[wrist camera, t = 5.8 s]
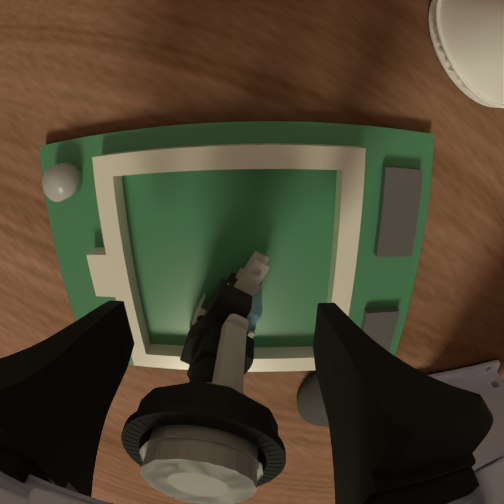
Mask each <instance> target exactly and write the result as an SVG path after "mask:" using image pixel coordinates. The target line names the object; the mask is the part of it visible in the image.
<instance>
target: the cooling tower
mask: <svg viewBox="0 0 504 504" xmlns="http://www.w3.org/2000/svg"><path fill="white" fill-rule="evenodd" d="M428 24H429V32H430V36H431V40H432V43H433V47H434V49H435V52H436V54H437V56H438V58H439V60H440V62H441V64H442V66H443V68H444V69H445V71H446V73H447V74H448V75H449V77H450V78H451V80H452V81H453V82H454V83H455V84H456V86H457V87H458V88H459V89H460V90H461V91H462V92H463V93H465V94H466V95H467V96H468V97H469V98H471V99H472V100H474V101H475V102H477V103H479V104H482V105H484V106H488V107H494V108H504V0H432V2H431V4H430V8H429V14H428Z"/></svg>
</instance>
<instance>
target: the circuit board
mask: <svg viewBox="0 0 504 504" xmlns="http://www.w3.org/2000/svg"><path fill="white" fill-rule="evenodd" d="M433 146H434V134H430V133H423V132H416V131H409V130H402V129H394V128H385V127H376V126H365V125H354V124H340V123H323V122H296V121H241V122H214V123H197V124H183V125H171V126H161V127H151V128H142V129H134V130H126V131H119V132H112V133H106V134H99V135H93V136H87V137H82V138H76V139H71V140H66V141H61V142H56V143H52V144H47V145H42V146H39V151H40V161H41V170H42V178H43V179H42V186H43V190H44V192H45V198H46V205H47V210H48V216H49V221H50V226H51V231H52V236H53V241H54V245H55V249H56V254H57V258H58V262H59V266H60V270H61V274H62V277H63V281H64V284H65V288H66V291H67V295H68V298H69V301H70V305H71V308H72V311H73V314H74V317H75V320H76V321H77V320H79V319H80V318H82V317H83V316H85V315H86V314H88V313H89V312H91V311H93V310H94V309H96V308H97V307H99V306H101V305H102V304H104V303H106V302H108V301H110V300H112V301H124V304H125V308H126V313H127V317H128V321H129V324H130V328H131V332H132V336H133V339H134V347H133V351H132V354H131V358H130V361H129V364H128V365H134V366H144V367H155V368H167V369H181V370H188V369H189V364H187V363H185V362H182V361H180V357H181V354H182V351H183V348H184V345H185V341H186V338H187V335H188V332H189V330H190V328H191V326H192V321H193V317H194V314H195V311H196V308H197V306H198V304H199V302H200V300H201V299H202V297H203V295H204V294H205V295H206V296H205V299H204V302H203V306H202V308H203V309H205V310H207V309H208V307H209V305H210V303H211V300H212V298H213V295H214V293H215V290H216V288H217V286H218V284H219V283H220V281H221V280H222V279H225V280H227V278H228V277H229V275H230V274H231V272H232V273H234V274H236V275H237V273H238V272H239V270H240V268H243V269H244V268H245V266H246V264H247V263H248V261H249V260H250V258H251V256H252V255H253V253H254V252H255V251H257V252H259V253H261V254H263V255H265V256H267V257H268V258H269V261H268V262H267V265H268V266H269V270H268V272H267V273H266V275H265V276H264V278H263V279H262V281H261V283H260V284H259V286H261V287H262V307H263V311H262V315H261V317H260V319H259V321H258V322H257V324H256V331H255V333H256V334H255V335H254V336H253V339H255V340H254V360H253V363H252V366H251V367H250V369H249V370H248V371H247V372H287V371H314V370H316V369H315V361H314V353H313V342H314V333H315V324H316V315H317V306H318V303H335V304H336V305H337V306H338V307H339V308H340V309H341V310H342V311H343V312H344V313H345V314H346V315H347V316H348V317H349V318H350V319H351V320H352V321H353V322H354V323H355V324H356V325H357V326H359V327H360V328H361V329H362V330H363V331H364V332H365V333H366V334H367V335H368V336H370V337H371V338H372V339H373V340H374V341H376V342H377V343H378V344H379V345H380V346H382V347H383V348H384V349H386V350H387V351H388V352H390V353H391V354H393V355H394V356H395V353H396V350H397V347H398V343H399V340H400V336H401V333H402V329H403V326H404V322H405V318H406V315H407V311H408V307H409V303H410V299H411V295H412V290H413V286H414V282H415V277H416V272H417V268H418V263H419V257H420V252H421V247H422V241H423V235H424V229H425V222H426V216H427V208H428V201H429V192H430V183H431V173H432V161H433ZM257 260H258V259H257ZM259 261H260V260H259ZM260 274H261V273H260Z"/></svg>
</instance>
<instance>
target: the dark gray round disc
mask: <svg viewBox="0 0 504 504" xmlns="http://www.w3.org/2000/svg"><path fill="white" fill-rule="evenodd" d="M297 405H298V411H299V413H300V415H301V416H302V418H304V419H305V420H306V421H308V422H310V423H312V424H315V425H319V426H329V423H328V417H327V413H326V409H325V405H324V402H323V398H322V394H321V390H320V386H319V382H318V378H317V374H316V372H314V373H312V374H311V375H310V376H308V377H307V378H306V379H305V380H304V381H303V383H302V384H301V386H300V387H299V389H298V392H297Z"/></svg>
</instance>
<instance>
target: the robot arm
mask: <svg viewBox="0 0 504 504" xmlns="http://www.w3.org/2000/svg"><path fill="white" fill-rule="evenodd" d="M133 347H134V339H133V336H132V332H131V328H130V324H129V321H128V317H127V313H126V308H125V304H124V301H112V300H110V301H108V302H106V303H104V304H102V305H101V306H99V307H97V308H96V309H94V310H93V311H91V312H89V313H88V314H86V315H85V316H83V317H82V318H80V319H79V320H77V321H76V322H74V323H73V324H71V325H69V326H68V327H66V328H64V329H63V330H61V331H59V332H58V333H56V334H54V335H53V336H51V337H49V338H47V339H46V340H44V341H42V342H40V343H38V344H36V345H34V346H32V347H29V348H27V349H25V350H22V351H20V352H17V353H14V354H12V355H9V356H7V357H3V358H0V504H113V503H110V502H106V501H102V500H99V499H96V498H92V497H91V493H92V482H93V473H94V467H95V461H96V455H97V450H98V446H99V441H100V437H101V433H102V429H103V425H104V422H105V418H106V415H107V413H108V410H109V407H110V405H111V403H112V400H113V398H114V396H115V394H116V391H117V389H118V387H119V385H120V383H121V380H122V378H123V376H124V374H125V371H126V369H127V367H128V364H129V361H130V358H131V354H132V351H133ZM313 353H314V361H315V369H316V374H317V378H318V382H319V386H320V390H321V394H322V398H323V402H324V405H325V409H326V413H327V417H328V423H329V428H330V436H331V445H332V455H333V466H334V481H335V504H504V380H503V379H502V377H501V376H500V375H499V373H498V372H497V370H498V368H499V366H500V362H499V360H494V361H490V362H486V363H482V364H478V365H474V366H470V367H465V368H461V369H456V370H451V371H446V372H441V373H435V374H430V375H426V374H424V373H423V372H421V371H419V370H417V369H415V368H413V367H411V366H410V365H408V364H406V363H405V362H403V361H402V360H400V359H399V358H397V357H396V356H394V355H393V354H391V353H390V352H388V351H387V350H386V349H384V348H383V347H382V346H380V345H379V344H378V343H377V342H376V341H374V340H373V339H372V338H371V337H370V336H368V335H367V334H366V333H365V332H364V331H363V330H362V329H361V328H360V327H359V326H357V325H356V324H355V323H354V322H353V321H352V320H351V319H350V318H349V317H348V316H347V315H346V314H345V313H344V312H343V311H342V310H341V309H340V308H339V307H338V306H337V305H336V304H335V303H318V306H317V315H316V324H315V333H314V342H313Z"/></svg>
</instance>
